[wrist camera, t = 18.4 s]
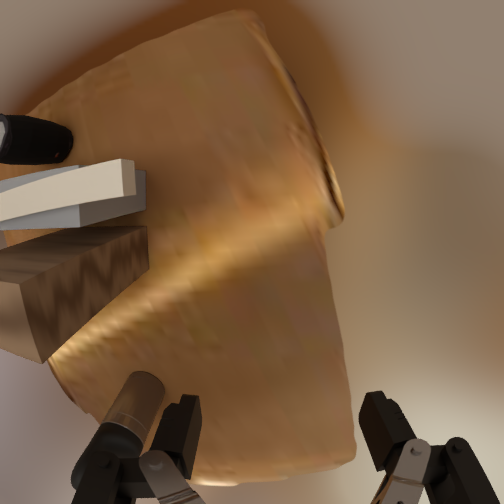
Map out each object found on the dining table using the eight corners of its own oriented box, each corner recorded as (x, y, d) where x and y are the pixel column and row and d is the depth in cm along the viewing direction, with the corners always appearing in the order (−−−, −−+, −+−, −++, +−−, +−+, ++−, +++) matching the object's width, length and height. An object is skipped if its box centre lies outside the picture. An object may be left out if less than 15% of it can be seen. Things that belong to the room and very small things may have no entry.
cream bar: (136, 194, 26) (123, 196, 23) (-6, 223, 27) (-20, 226, 24) (133, 160, 25) (120, 158, 22) (-9, 199, 26) (-23, 202, 23)
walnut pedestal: (149, 268, 50) (42, 364, 19) (74, 265, 50) (-38, 329, 19) (146, 226, 48) (19, 284, 17) (70, 227, 48) (-54, 270, 17)
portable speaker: (80, 149, 45) (12, 142, 26) (51, 173, 46) (-16, 176, 27) (70, 116, 43) (6, 99, 24) (41, 141, 44) (-23, 135, 25)
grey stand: (146, 209, 47) (80, 227, 27) (69, 212, 48) (-5, 230, 27) (145, 170, 46) (78, 165, 25) (68, 178, 46) (-7, 182, 26)
